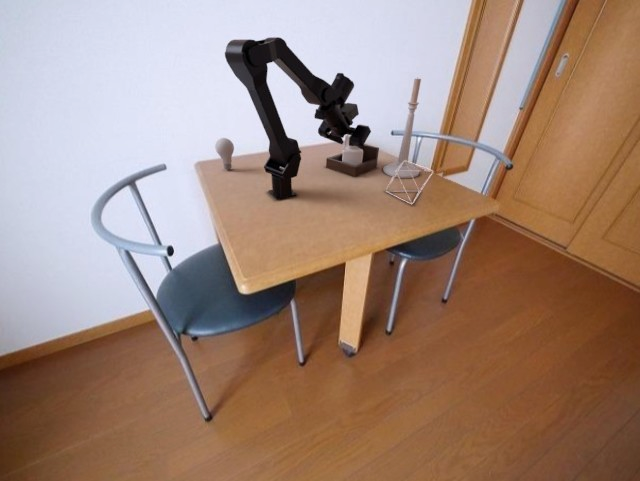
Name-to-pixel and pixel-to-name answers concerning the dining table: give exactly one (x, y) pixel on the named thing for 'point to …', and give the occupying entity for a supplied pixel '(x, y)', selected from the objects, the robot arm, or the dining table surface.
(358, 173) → the wooden holder
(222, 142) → the lightbulb
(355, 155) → the medicine bottle
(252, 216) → the dining table surface
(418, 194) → the geometric polyhedron
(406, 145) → the candlestick
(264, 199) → the dining table surface
